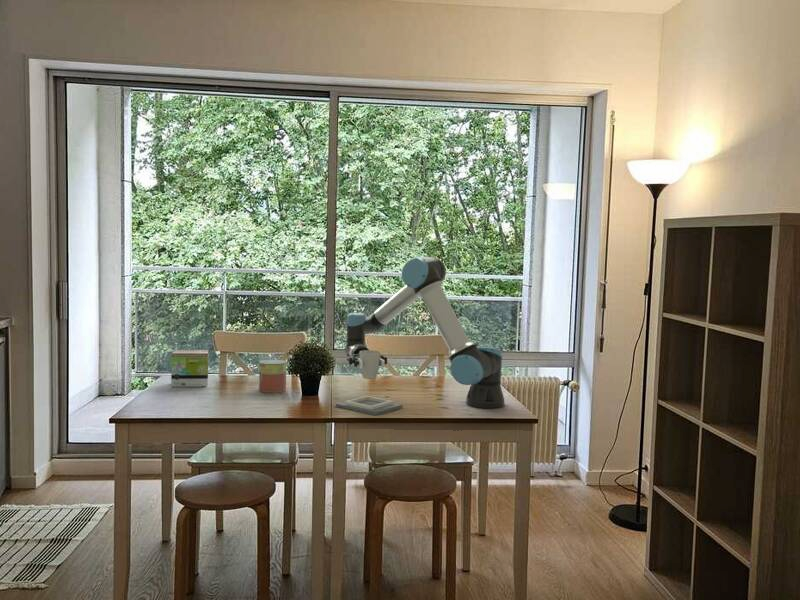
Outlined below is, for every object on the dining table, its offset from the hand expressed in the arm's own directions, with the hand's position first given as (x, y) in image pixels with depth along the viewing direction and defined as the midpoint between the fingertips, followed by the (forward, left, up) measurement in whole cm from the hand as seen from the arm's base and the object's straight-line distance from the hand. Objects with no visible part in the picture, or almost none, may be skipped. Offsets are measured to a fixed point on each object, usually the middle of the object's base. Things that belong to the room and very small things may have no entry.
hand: (372, 364), depth 279 cm
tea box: (+86, +19, -18) cm, 90 cm away
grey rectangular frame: (+4, -3, -17) cm, 18 cm away
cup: (+4, -3, -6) cm, 8 cm away
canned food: (+54, +1, -18) cm, 57 cm away
